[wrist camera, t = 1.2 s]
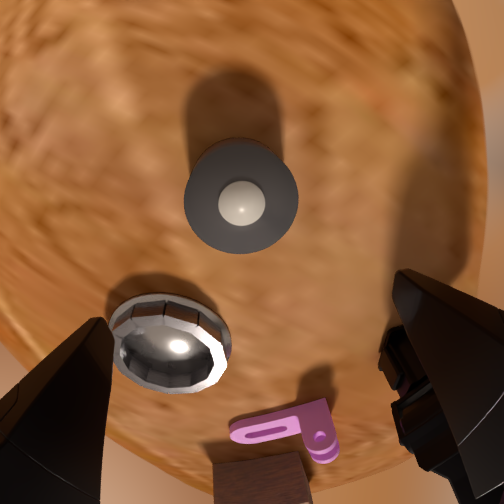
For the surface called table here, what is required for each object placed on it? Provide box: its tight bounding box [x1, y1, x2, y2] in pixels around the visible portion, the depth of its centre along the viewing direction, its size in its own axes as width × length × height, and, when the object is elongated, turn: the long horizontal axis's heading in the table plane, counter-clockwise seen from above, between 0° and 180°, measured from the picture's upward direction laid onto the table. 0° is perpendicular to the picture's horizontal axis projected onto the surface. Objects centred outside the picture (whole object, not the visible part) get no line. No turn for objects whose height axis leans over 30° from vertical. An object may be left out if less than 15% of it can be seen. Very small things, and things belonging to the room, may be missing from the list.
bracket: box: [230, 398, 340, 464], centre depth 30 cm, size 13×6×7 cm, turn 108°
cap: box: [184, 138, 298, 254], centre depth 17 cm, size 6×6×4 cm
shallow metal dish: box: [109, 293, 232, 394], centre depth 24 cm, size 11×11×2 cm
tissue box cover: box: [213, 451, 313, 504], centre depth 41 cm, size 26×14×10 cm, turn 13°
